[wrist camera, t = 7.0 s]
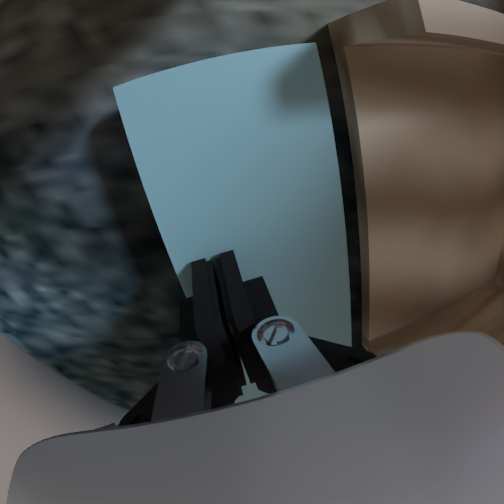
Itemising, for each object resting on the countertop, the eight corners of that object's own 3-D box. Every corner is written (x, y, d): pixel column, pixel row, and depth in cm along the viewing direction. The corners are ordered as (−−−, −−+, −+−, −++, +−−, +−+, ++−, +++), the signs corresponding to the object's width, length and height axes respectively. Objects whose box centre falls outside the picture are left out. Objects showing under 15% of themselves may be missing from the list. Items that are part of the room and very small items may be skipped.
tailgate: (300, 47, 10) (116, 90, 9) (315, 42, 9) (112, 87, 8) (341, 346, 18) (232, 393, 17) (351, 359, 17) (237, 409, 16)
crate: (327, 23, 10) (415, -9, 5) (500, 39, 11) (578, 47, 6) (361, 343, 19) (405, 413, 14) (492, 282, 20) (540, 325, 15)
